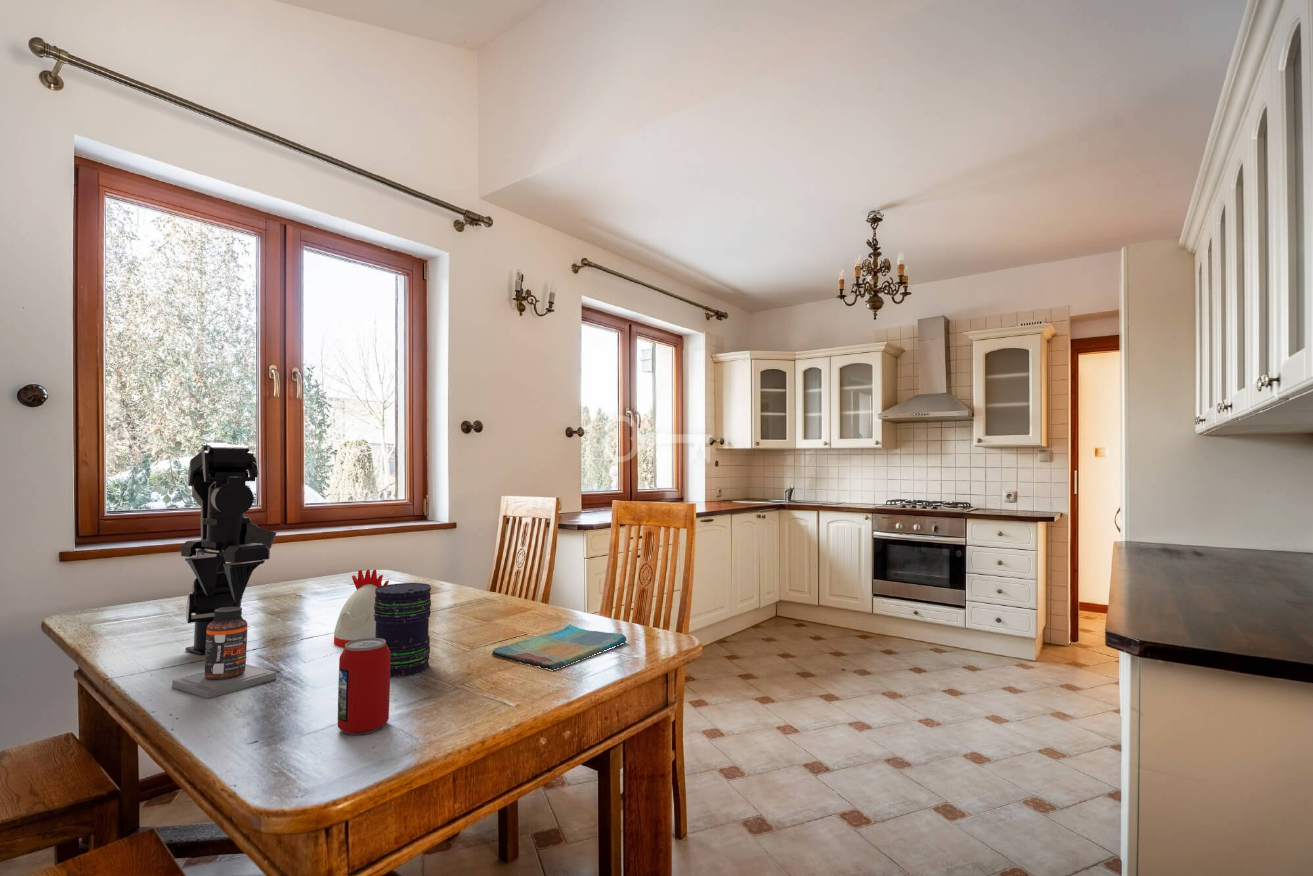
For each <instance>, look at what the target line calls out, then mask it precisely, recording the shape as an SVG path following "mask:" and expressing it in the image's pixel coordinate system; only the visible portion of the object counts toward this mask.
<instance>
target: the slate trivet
mask: <svg viewBox="0 0 1313 876" xmlns="http://www.w3.org/2000/svg"><path fill="white" fill-rule="evenodd" d="M204 673H205V671H202V672H199V673H194V674H191V675H187V676H182V677H179V678H175V679H171V680H172V681H171V688H173V689H176V690H179V691H182V692H185V693H189V694H193V695H195V696H198V697H201V698H205V699H208V700H209V699H212V698H216V697H219V696H222V695H225V694H228V693H234V692H236V691H239V690H244V689H246V688H250V687H253V686H257V685H260V684H264V683H267V682H270V681H275V680H276V679H277V671H274V670H270V669H266V668H262V667H258V666H254V665H251V664H246V667H245V671H244V673H242V674H241V675H238V676H236V677H232V678H227V679H208V678H206V677H205V675H204Z"/></svg>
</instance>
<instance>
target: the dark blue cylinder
mask: <svg viewBox="0 0 1313 876" xmlns="http://www.w3.org/2000/svg"><path fill="white" fill-rule="evenodd" d="M383 585H384V584H383ZM383 585H382V586H380V587H377V588H376V589H375V594H376V597H375V603H374V610H375V614H374V620H375V621H376V631H375V638H381V639H384V640H385V641H386V645H387V646H388V648H389V650H390V679H395V678H396V679H397V678H405V677H411V676H416V675H419V674H422V673H424V672H426V671H427V670H429V668H430V663H429V660H430V653H431V645H430V642H431V639H430V636H429V633H430V632H429V631H430V630H429V629H430V628H429V626H430V625H429V623H430V617H431V607H432V599H431V598H432V596H431V595H432V594H431V590H432V587H431V585H430V584H429V583H422V582H421V583H420V582H400V583H392V584H391V583H390V584H388V585H384V586H383Z"/></svg>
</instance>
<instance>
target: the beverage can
mask: <svg viewBox="0 0 1313 876" xmlns="http://www.w3.org/2000/svg"><path fill="white" fill-rule="evenodd" d="M338 661H339V662H338V684H337V685H338V687H337V689H338V690H337V691H338V692H337V728H338V730H340V731H342V732H345V734H349V735H365V734H369V733H372V732H375V731H378V730H379V729H380V728H382V727H383V726H384V725H385V724H387V722H389V719H390V718H389V717H390V693H391V692H390V691H391V678H390V650H389V648H388V646H387V645H386V641H385V640H384V639H381V638H364V639H358V640H353V641H350V642H348V643H346V644H345V647H343V649H342V651H341V653H340V655H339V659H338Z"/></svg>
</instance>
